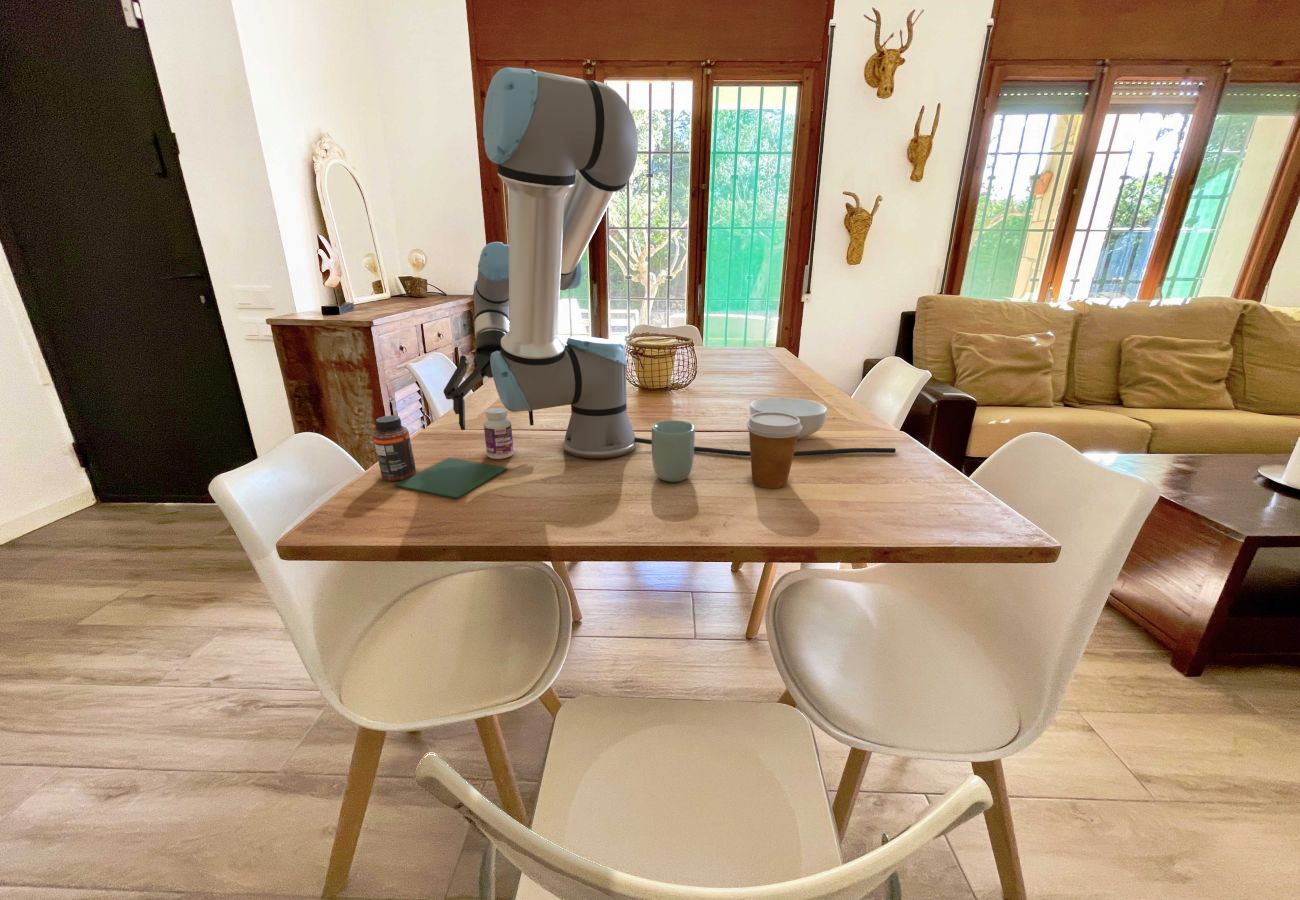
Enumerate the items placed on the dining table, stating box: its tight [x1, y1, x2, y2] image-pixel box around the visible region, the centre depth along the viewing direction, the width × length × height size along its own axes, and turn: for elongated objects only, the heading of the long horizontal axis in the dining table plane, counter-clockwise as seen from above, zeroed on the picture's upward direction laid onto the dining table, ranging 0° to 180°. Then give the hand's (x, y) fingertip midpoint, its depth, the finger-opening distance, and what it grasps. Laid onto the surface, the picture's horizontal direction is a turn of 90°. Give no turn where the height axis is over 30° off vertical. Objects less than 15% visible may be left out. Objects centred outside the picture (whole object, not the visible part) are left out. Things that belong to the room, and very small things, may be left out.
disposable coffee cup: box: [746, 412, 802, 489], centre depth 92 cm, size 10×10×12 cm
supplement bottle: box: [372, 414, 417, 482], centre depth 95 cm, size 6×6×11 cm
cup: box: [651, 419, 696, 483], centre depth 94 cm, size 8×8×10 cm
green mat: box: [393, 457, 508, 500], centre depth 96 cm, size 14×14×1 cm
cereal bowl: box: [749, 396, 828, 440], centre depth 118 cm, size 17×17×7 cm
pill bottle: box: [483, 407, 514, 460], centre depth 105 cm, size 5×5×10 cm
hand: (497, 424), depth 105 cm, fingers open, 13 cm apart
